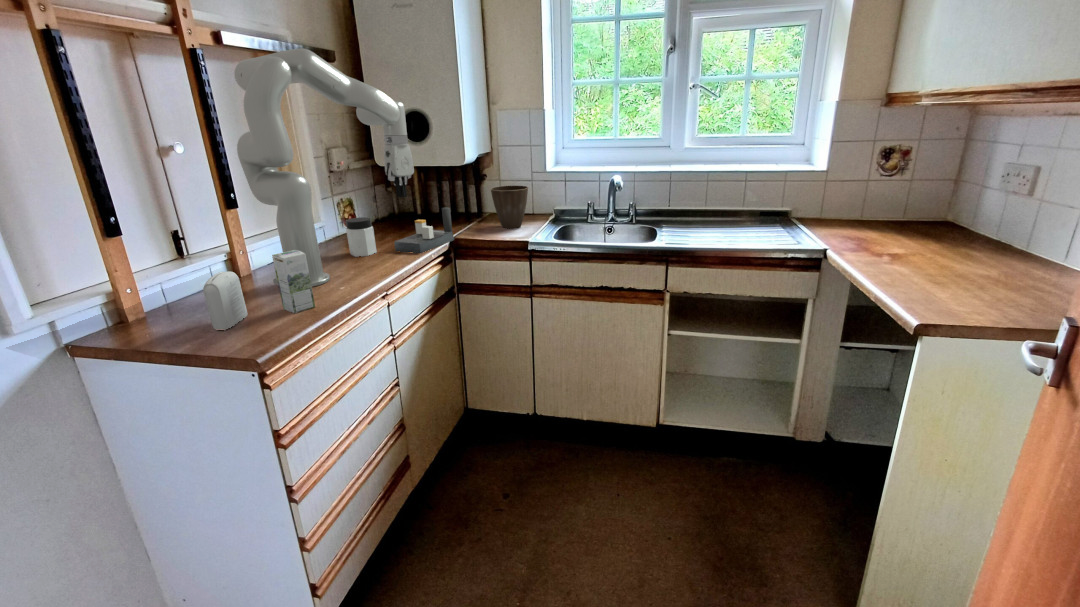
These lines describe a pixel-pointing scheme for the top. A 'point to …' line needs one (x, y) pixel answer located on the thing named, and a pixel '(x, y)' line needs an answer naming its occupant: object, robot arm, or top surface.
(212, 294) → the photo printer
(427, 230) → the paddle
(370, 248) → the jar
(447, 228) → the post
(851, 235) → the top surface
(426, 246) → the breaker panel
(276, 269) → the syrup box
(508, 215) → the plant pot
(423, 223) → the paddle on
